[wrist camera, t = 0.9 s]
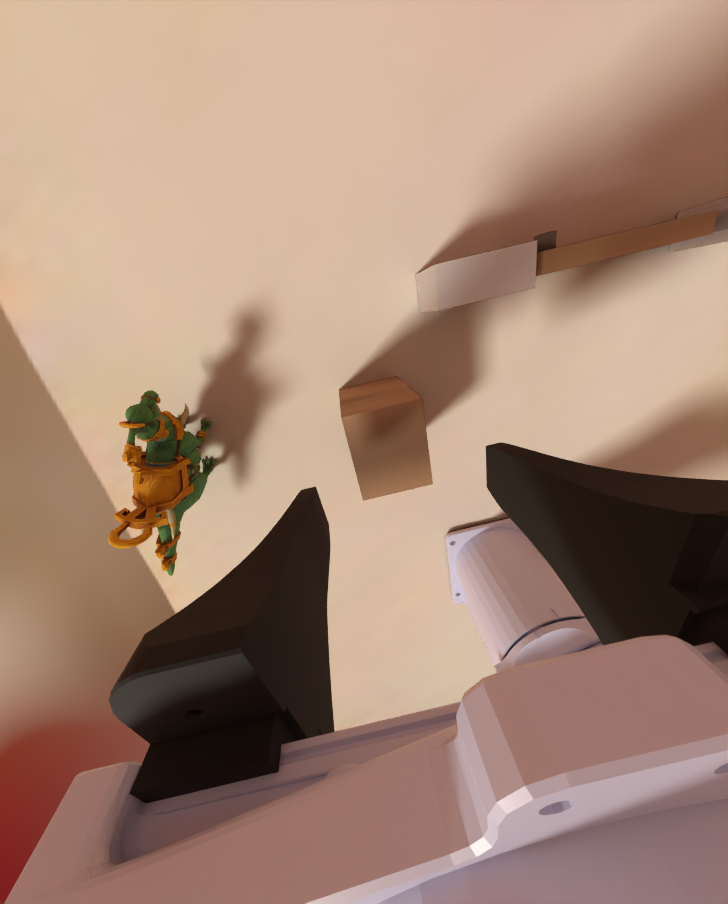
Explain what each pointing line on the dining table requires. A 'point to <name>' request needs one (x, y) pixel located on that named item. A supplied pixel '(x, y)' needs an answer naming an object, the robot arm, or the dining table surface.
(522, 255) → the wall frame
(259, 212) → the dining table surface
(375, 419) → the block
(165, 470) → the figurine
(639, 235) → the door
